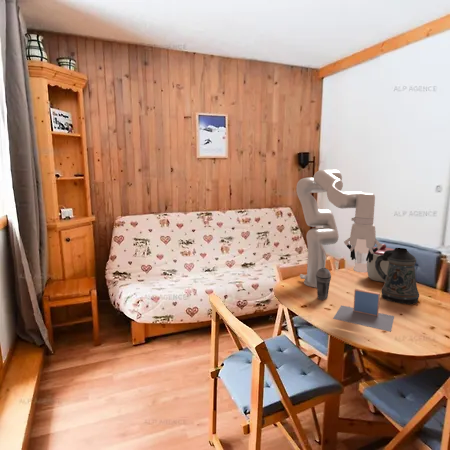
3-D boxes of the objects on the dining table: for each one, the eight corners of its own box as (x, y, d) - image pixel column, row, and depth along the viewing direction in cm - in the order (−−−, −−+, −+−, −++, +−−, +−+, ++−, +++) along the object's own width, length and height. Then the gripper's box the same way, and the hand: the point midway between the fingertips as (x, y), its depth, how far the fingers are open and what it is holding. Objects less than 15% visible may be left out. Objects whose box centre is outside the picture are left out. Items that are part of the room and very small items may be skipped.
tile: (353, 311, 143) (354, 289, 142) (354, 309, 144) (355, 288, 143) (377, 316, 138) (379, 294, 136) (378, 314, 139) (380, 292, 138)
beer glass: (349, 268, 148) (351, 236, 146) (364, 268, 149) (366, 236, 146) (356, 273, 141) (358, 239, 139) (372, 272, 142) (374, 239, 139)
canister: (404, 284, 178) (407, 247, 174) (371, 284, 178) (374, 247, 174) (388, 274, 195) (391, 240, 192) (358, 274, 196) (360, 240, 192)
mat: (332, 319, 136) (332, 318, 136) (341, 306, 150) (341, 305, 150) (390, 332, 125) (390, 331, 125) (394, 317, 138) (394, 316, 138)
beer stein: (424, 306, 149) (429, 254, 145) (379, 303, 153) (383, 252, 149) (411, 293, 165) (415, 245, 161) (371, 290, 169) (374, 244, 165)
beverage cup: (330, 296, 161) (332, 258, 158) (330, 302, 154) (332, 262, 151) (315, 295, 164) (316, 256, 160) (314, 300, 157) (315, 260, 154)
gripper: (341, 220, 143) (339, 259, 146) (384, 224, 133) (381, 265, 136) (345, 218, 149) (343, 256, 152) (387, 221, 140) (384, 261, 143)
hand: (361, 260), depth 144 cm, fingers closed on beer glass, 6 cm apart
